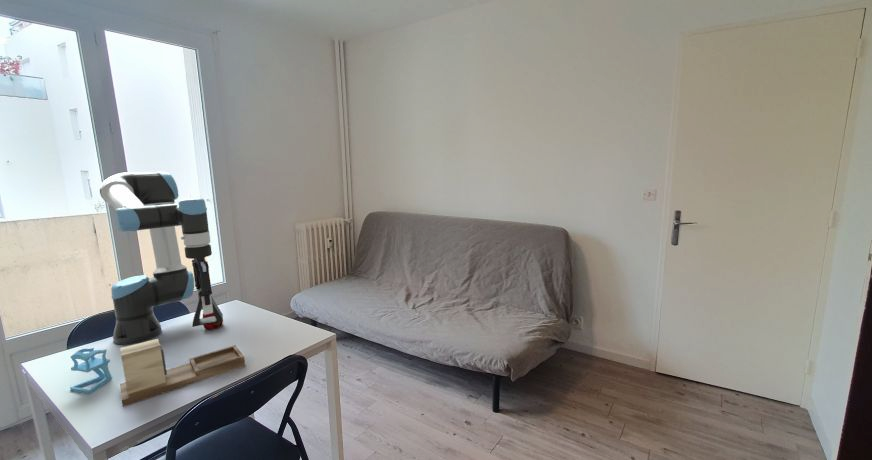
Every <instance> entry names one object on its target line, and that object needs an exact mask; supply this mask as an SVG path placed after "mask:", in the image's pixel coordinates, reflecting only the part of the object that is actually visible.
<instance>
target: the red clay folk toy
mask: <svg viewBox="0 0 872 460" xmlns="http://www.w3.org/2000/svg"><path fill="white" fill-rule="evenodd" d="M213 316H214V314H213V313H210V314H206V315H204V313H202V318H207V317H213ZM223 323H224V320H223V321H221V322H215V323H210V324H205V325H203V327H204V329H205V330H207V331H215V330H217V329H220V327H222V326H223Z"/></svg>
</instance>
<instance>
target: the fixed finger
mask: <svg viewBox="0 0 872 460" xmlns="http://www.w3.org/2000/svg"><path fill="white" fill-rule="evenodd" d="M119 349H120V350H119V351H120V356H121V357H120V358H121V363H122V367H123V373H124V380H125V382H126V386H127V392H128V394H130V393H134V392H137V391H140V390H143V389H146V388H149V387H152V386H156V385H159V384H162V383H165V382H166V380H165V375H167V371H166V370H167V366H166V359H165V351H164V349H163V345H162V344H160V341H159V338H154V339H151V340H150V339H149V340H145V341H141V342H137V343H133V344H131V345H130V344H129V345H127V346H122V347H120V348H119Z"/></svg>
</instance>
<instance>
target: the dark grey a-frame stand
mask: <svg viewBox="0 0 872 460" xmlns="http://www.w3.org/2000/svg"><path fill="white" fill-rule="evenodd" d="M199 295H202V292H201V287H200V289H199ZM199 297H200V296H199ZM211 299H212V307H213V314H214V316H213V317H207V318H203V317H202V318H200V317H201V313H202V309H201V307H202V298H201V297H200V298H199V301H198V300H197V301H198V302H197V305H196V308H195V312H194V316H193V320H192V327H200V326H204V325H205V324H210V323H215V322H221V321H223V322H224V315H223V312H222V311H221V309H220V308H219V306H218V304H217V303H216V301H215V299H214V297H213V296H212V295H211Z"/></svg>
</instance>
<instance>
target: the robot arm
mask: <svg viewBox="0 0 872 460" xmlns="http://www.w3.org/2000/svg"><path fill="white" fill-rule="evenodd" d="M99 194H100V197H101V199H103V201H104V202H105V203H106V204H108V205H111V206H112V207H113V209H114V210H115V211H114V218H115V219H114V220H115V225H116V227H117V229H118V231H120V232H123V233H124V232H137V231H143V230H144V231H146V230H149V234H150V235H149V236H150V239H151V246H152V250H153V255H154V260H155V265H156V269H155V270H154V271H153V272H152V275H153V277H148V276H147V275H145V274H142V275H135V276H131V277H127V278H125V279H121V280H119V281H117V282H116V283H114V284H113V285H112V286H111V288H110V290H111V300H112V303H113V310H114V315H115V327H114V330H113V335H112V340H113V343H114V344H115V345H130V344H131V345H133V344H138V343H142V342H146V341H149V340H150V339H152V338H155V337H157V336H158V335H160V334H161V332H162V325H161V323H160V321H159V320H158V319H157V317H156V315H155V313H154V307H158V306H163V305H166V304H170V303H171V304H172V303H175V302H181V301H183V300H186V299H190V298H191V297H192V296H193V295H194V290H195V289H196V295H197V301H199V298H200V297H201V298H202V307H201V310H202V312H203V313H204V315H206V314H210V313H213V307H212V299H211V296H212V294H213V291H212V283H211V278H210V267H209V262H208V261H207V260H206V259H205V258H206V257H210V256H212V254H213V252H212V246H211V245H212V244H210V243H211V234H210V229H209V221H208V213H207V212H208V211H207V210H208V209H207V206H206V201H205V199H204V198H201V197H200V198H198V197H196V198H192V197H191V198H183V199H179V189H178V185H177V181H176V180H175V178H174V177H173V175H172V174H171V173H169V172H166V171H144V172H143V171H139V172H120V173H116V174H114V175H111V176H109V177H108V178H106V179H105V180H104V181H103V182H101V185H100V187H99ZM177 199H179V200H178V202H177V203H176V200H177ZM179 226H181V232H182V236H181V237H180V239H181V240H183V244H184V249H183V250H184V254H185V255H184V256H185V258H186V259H189V260H190V259H191V263H192V270H193V272H192V271H191V270H188V268H187V266H186V265H184V264H183V263H182V261H181V259H182V258H181V252H180V248H179V242H178V236H177V232H176V227H179ZM200 287H201V292H202V295H199V289H200ZM199 296H200V297H199ZM203 313H202V314H203Z"/></svg>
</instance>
